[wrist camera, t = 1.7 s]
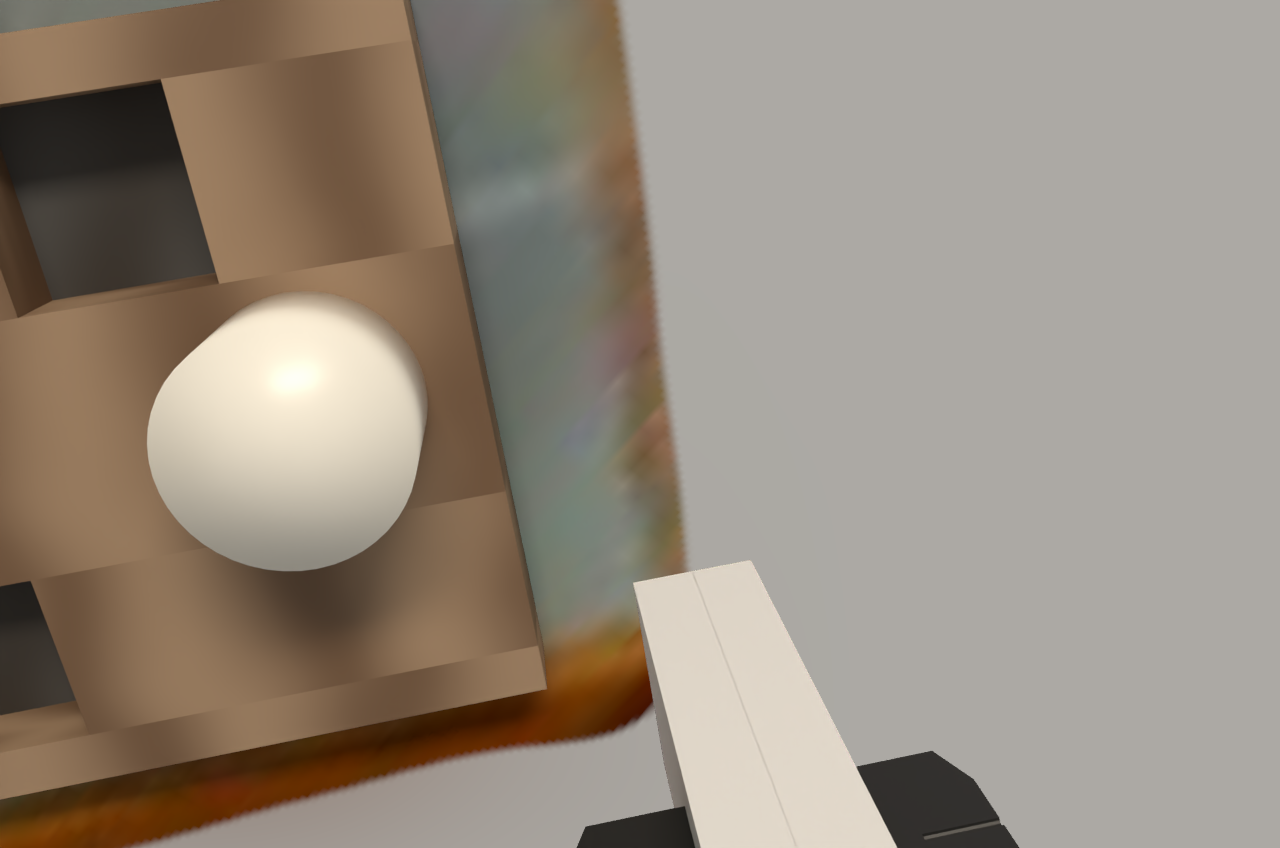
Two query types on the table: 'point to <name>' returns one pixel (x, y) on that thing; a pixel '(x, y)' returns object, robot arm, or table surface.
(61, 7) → the table surface
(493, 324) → the table surface
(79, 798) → the table surface
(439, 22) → the table surface
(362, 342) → the white rounded block
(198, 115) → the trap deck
